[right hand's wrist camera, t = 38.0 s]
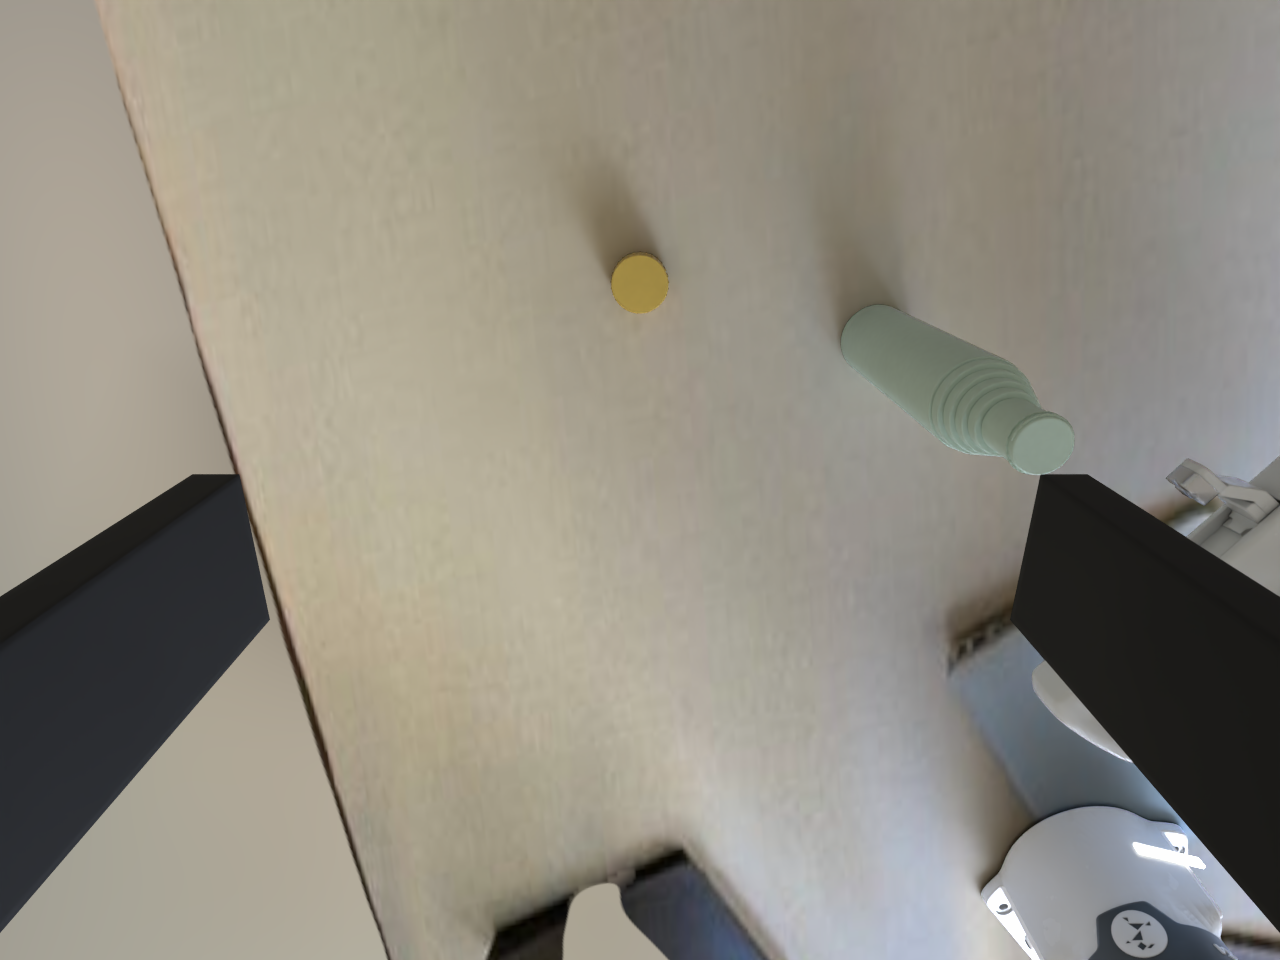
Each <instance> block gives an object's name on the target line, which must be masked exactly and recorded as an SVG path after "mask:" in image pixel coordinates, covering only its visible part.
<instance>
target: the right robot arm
mask: <svg viewBox="0 0 1280 960" xmlns="http://www.w3.org/2000/svg"><path fill="white" fill-rule="evenodd" d="M269 620H270V618H269V614H268V609H267V604H266V599H265V595H264V590H263V585H262V580H261V575H260V571H259V566H258V561H257V556H256V552H255V547H254V542H253V537H252V533H251V528H250V523H249V518H248V513H247V509H246V504H245V499H244V494H243V490H242V485H241V480H240V475H239V474H193V475H191V476H189V477H188V478H186V479H185V480H183V481H181V482H180V483H178V484H177V485H175V486H174V487H172V488H170V489H169V490H167V491H166V492H164V493H163V494H161V495H159V496H158V497H156V498H155V499H153V500H152V501H150V502H148V503H147V504H145V505H144V506H142V507H141V508H139V509H137V510H136V511H134V512H133V513H131V514H130V515H128V516H126V517H125V518H123V519H122V520H120V521H119V522H117V523H115V524H114V525H112V526H111V527H109V528H108V529H106V530H104V531H103V532H101V533H100V534H98V535H96V536H95V537H93V538H92V539H90V540H89V541H87V542H86V543H84V544H82V545H81V546H79V547H78V548H76V549H75V550H73V551H71V552H70V553H68V554H67V555H65V556H63V557H62V558H60V559H59V560H57V561H56V562H54V563H52V564H51V565H49V566H48V567H46V568H45V569H43V570H41V571H40V572H38V573H37V574H35V575H34V576H32V577H30V578H29V579H27V580H26V581H24V582H23V583H21V584H20V585H18V586H16V587H15V588H13V589H12V590H10V591H8V592H7V593H5V594H4V595H2V596H1V597H0V932H1V931H2V930H3V929H4V928H5V927H6V925H7V924H8V923H9V922H10V921H11V920H12V918H13V917H14V916H15V915H16V914H17V913H18V911H19V910H20V909H21V908H22V907H23V906H24V904H25V903H26V902H27V901H28V900H29V899H30V897H31V896H32V895H33V894H34V893H35V892H36V891H37V889H38V888H39V887H40V886H41V885H42V884H43V882H44V881H45V880H46V879H47V878H48V877H49V875H50V874H51V873H52V872H53V871H54V870H55V869H56V867H57V866H58V865H59V864H60V863H61V862H62V860H63V859H64V858H65V857H66V856H67V854H68V853H69V852H70V851H71V850H72V849H73V848H74V846H75V845H76V844H77V843H78V842H79V841H80V839H81V838H82V837H83V836H84V835H85V834H86V833H87V831H88V830H89V829H90V828H91V827H92V826H93V824H94V823H95V822H96V821H97V820H98V819H99V817H100V816H101V815H102V814H103V813H104V812H105V810H106V809H107V808H108V807H109V806H110V805H111V803H112V802H113V801H114V800H115V799H116V798H117V797H118V795H119V794H120V793H121V792H122V791H123V789H124V788H125V787H126V786H127V785H128V784H129V783H130V781H131V780H132V779H133V778H134V777H135V776H136V774H137V773H138V772H139V771H140V770H141V769H142V768H143V766H144V765H145V764H146V763H147V762H148V761H149V759H150V758H151V757H152V756H153V755H154V754H155V752H156V751H157V750H158V749H159V748H160V747H161V745H162V744H163V743H164V742H165V741H166V740H167V738H168V737H169V736H170V735H171V734H172V733H173V731H174V730H175V729H176V728H177V727H178V726H179V724H180V723H181V722H182V721H183V720H184V719H185V718H186V716H187V715H188V714H189V713H190V712H191V711H192V709H193V708H194V707H195V706H196V705H197V704H198V703H199V701H200V700H201V699H202V698H203V697H204V695H205V694H206V693H207V692H208V691H209V690H210V688H211V687H212V686H213V685H214V684H215V683H216V682H217V680H218V679H219V678H220V677H221V676H222V675H223V673H224V672H225V671H226V670H227V669H228V668H229V667H230V665H231V664H232V663H233V662H234V661H235V660H236V658H237V657H238V656H239V655H240V654H241V653H242V651H243V650H244V649H245V648H246V647H247V646H248V644H249V643H250V642H251V641H252V640H253V639H254V637H255V636H256V635H257V634H258V633H259V632H260V630H261V629H262V628H263V627H264V626H265V625H266V624H267V622H268V621H269ZM1010 620H1011V621H1012V622H1013V624H1014V625H1015V626H1016V627H1017V628H1018V629H1019V631H1020V632H1021V633H1022V634H1023V635H1024V636H1025V637H1026V639H1027V640H1028V641H1029V642H1030V643H1031V644H1032V646H1033V647H1034V648H1035V649H1036V650H1037V651H1038V653H1039V654H1040V655H1041V656H1042V657H1043V658H1044V660H1045V661H1046V662H1047V663H1048V664H1049V665H1050V667H1051V668H1052V669H1053V670H1054V671H1055V672H1056V673H1057V675H1058V676H1059V677H1060V678H1061V679H1062V680H1063V682H1064V683H1065V684H1066V685H1067V686H1068V687H1069V689H1070V690H1071V691H1072V692H1073V693H1074V694H1075V696H1076V697H1077V698H1078V699H1079V700H1080V701H1081V703H1082V704H1083V705H1084V706H1085V707H1086V708H1087V709H1088V711H1089V712H1090V713H1091V714H1092V715H1093V716H1094V718H1095V719H1096V720H1097V721H1098V722H1099V723H1100V725H1101V726H1102V727H1103V728H1104V729H1105V730H1106V732H1107V733H1108V734H1109V735H1110V736H1111V737H1112V738H1113V740H1114V741H1115V742H1116V743H1117V744H1118V745H1119V747H1120V748H1121V749H1122V750H1123V751H1124V752H1125V754H1126V755H1127V756H1128V757H1129V758H1130V759H1131V761H1132V762H1133V763H1134V764H1135V765H1136V766H1137V768H1138V769H1139V770H1140V771H1141V772H1142V773H1143V774H1144V776H1145V777H1146V778H1147V779H1148V780H1149V781H1150V783H1151V784H1152V785H1153V786H1154V787H1155V788H1156V790H1157V791H1158V792H1159V793H1160V794H1161V795H1162V797H1163V798H1164V799H1165V800H1166V801H1167V802H1168V803H1169V805H1170V806H1171V807H1172V808H1173V809H1174V810H1175V812H1176V813H1177V814H1178V815H1179V816H1180V817H1181V819H1182V820H1183V821H1184V822H1185V823H1186V824H1187V826H1188V827H1189V828H1190V829H1191V830H1192V831H1193V833H1194V834H1195V835H1196V836H1197V837H1198V838H1199V839H1200V841H1201V842H1202V843H1203V844H1204V845H1205V846H1206V848H1207V849H1208V850H1209V851H1210V852H1211V853H1212V855H1213V856H1214V857H1215V858H1216V859H1217V860H1218V862H1219V863H1220V864H1221V865H1222V866H1223V867H1224V869H1225V870H1226V871H1227V872H1228V873H1229V874H1230V875H1231V877H1232V878H1233V879H1234V880H1235V881H1236V882H1237V884H1238V885H1239V886H1240V887H1241V888H1242V889H1243V891H1244V892H1245V893H1246V894H1247V895H1248V896H1249V898H1250V899H1251V900H1252V901H1253V902H1254V903H1255V904H1256V906H1257V907H1258V908H1259V909H1260V910H1261V911H1262V913H1263V914H1264V915H1265V916H1266V917H1267V918H1268V920H1269V921H1270V922H1271V923H1272V924H1273V925H1274V927H1275V928H1276V929H1277V930H1278V931H1279V932H1280V597H1279V596H1278V595H1276V594H1275V593H1273V592H1272V591H1270V590H1268V589H1267V588H1265V587H1264V586H1262V585H1261V584H1259V583H1257V582H1256V581H1254V580H1253V579H1251V578H1250V577H1248V576H1246V575H1245V574H1243V573H1242V572H1240V571H1239V570H1237V569H1235V568H1234V567H1232V566H1231V565H1229V564H1228V563H1226V562H1224V561H1223V560H1221V559H1220V558H1218V557H1217V556H1215V555H1213V554H1212V553H1210V552H1209V551H1207V550H1206V549H1204V548H1202V547H1201V546H1199V545H1198V544H1196V543H1195V542H1193V541H1191V540H1190V539H1188V538H1187V537H1185V536H1184V535H1182V534H1180V533H1179V532H1177V531H1176V530H1174V529H1173V528H1171V527H1169V526H1168V525H1166V524H1165V523H1163V522H1161V521H1160V520H1158V519H1157V518H1155V517H1154V516H1152V515H1150V514H1149V513H1147V512H1146V511H1144V510H1143V509H1141V508H1139V507H1138V506H1136V505H1135V504H1133V503H1132V502H1130V501H1128V500H1127V499H1125V498H1124V497H1122V496H1121V495H1119V494H1117V493H1116V492H1114V491H1113V490H1111V489H1110V488H1108V487H1106V486H1105V485H1103V484H1102V483H1100V482H1099V481H1097V480H1095V479H1094V478H1092V477H1091V476H1089V475H1088V474H1041V475H1040V480H1039V485H1038V490H1037V494H1036V499H1035V504H1034V509H1033V513H1032V518H1031V523H1030V528H1029V533H1028V537H1027V542H1026V547H1025V552H1024V556H1023V561H1022V566H1021V571H1020V575H1019V580H1018V585H1017V590H1016V595H1015V599H1014V604H1013V609H1012V614H1011V618H1010Z"/></svg>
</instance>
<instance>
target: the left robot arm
mask: <svg viewBox="0 0 1280 960" xmlns="http://www.w3.org/2000/svg"><path fill="white" fill-rule="evenodd" d="M1166 479H1167V480H1168V481H1169V482H1170V483H1172V484H1174V485H1175V488H1177V489H1178V490H1179V491H1180V492H1181V493H1182V494H1184V495H1185V496H1187V497H1189V498H1193V499H1194V500H1195V501H1197V502H1199V503H1201V504H1203V505H1204V506H1205V505H1206V504H1207V503H1208V502H1209V501H1211V500H1212V499H1213V498H1214V497H1215V496H1217V495H1218V497H1219V498H1220V499H1221V500H1222V501H1223V502H1224V503H1225V504H1224V505H1223V506H1221V507H1220V508H1219V509H1218V510H1217V511H1216V512H1214V513H1213V514H1212V515H1211V516H1210V517H1209V518H1208V519H1206V520H1205V521H1204V522H1203V523H1202V524H1201V525H1200V526H1198V527H1197V528H1196V529H1195V530H1194V531H1193V532H1191V533H1190V534H1189V535H1188V536H1187V538H1188V539H1190V540H1191V541H1193V542H1195V543H1196V544H1198V545H1199V546H1201V547H1202V548H1204V549H1206V550H1207V551H1209V552H1210V553H1212V554H1213V555H1215V556H1217V557H1218V558H1220V559H1221V560H1223V561H1224V562H1226V563H1228V564H1229V565H1231V566H1232V567H1234V568H1235V569H1237V570H1239V571H1240V572H1242V573H1243V574H1245V575H1246V576H1248V577H1250V578H1251V579H1253V580H1254V581H1256V582H1257V583H1259V584H1261V585H1262V586H1264V587H1265V588H1267V589H1268V590H1270V591H1272V592H1273V593H1275V594H1276V595H1278V596H1279V597H1280V456H1279V457H1278V458H1277V459H1275V460H1274V461H1273V462H1272V463H1271V464H1270V465H1268V466H1267V467H1266V468H1265V469H1264V470H1263V471H1262V472H1260V473H1259V474H1258V475H1257V476H1256V477H1255V478H1254V479H1252V480H1251V481H1250V482H1249V483H1247V482H1245V481H1243V480H1241V479H1238V478H1235V477H1227V476H1220V475H1215V474H1214V473H1212V472H1211V471H1210V470H1209V469H1208V468H1206V467H1205V466H1203V465H1201V464H1199V463H1197V462H1195V461H1193V460H1190V459H1188V458H1187V459H1186V460H1184V461H1183V462H1182V463H1181V464H1180V465H1179V466H1178V467H1177V468H1176V469H1175V470H1174V471H1173V472H1172V473H1171V474H1170V475H1169V476H1167V477H1166ZM1032 684H1033V689H1034V691H1035V693H1036V694H1037V696H1038V697H1039V698H1040V700H1041V701H1042V702H1043V703H1044V705H1045V706H1046V707H1047V708H1048V709H1049V710H1050V711H1051V713H1052V714H1053V715H1054V716H1055V717H1056V718H1057V719H1058V720H1060V721H1061V722H1062V723H1063V724H1064V725H1066V726H1067V727H1068V728H1070V729H1071V730H1073V731H1074V732H1075V733H1077V734H1078V735H1080V736H1081V737H1083V738H1084V739H1086V740H1087V741H1089V742H1091V743H1092V744H1094V745H1096V746H1097V747H1099V748H1101V749H1102V750H1104V751H1106V752H1108V753H1110V754H1112V755H1114V756H1116V757H1118V758H1120V759H1122V760H1125V761H1128V762H1131V763H1133V762H1132V761H1131V759H1130V758H1129V757H1128V756H1127V755H1126V754H1125V752H1124V751H1123V750H1122V749H1121V748H1120V747H1119V745H1118V744H1117V743H1116V742H1115V741H1114V740H1113V738H1112V737H1111V736H1110V735H1109V734H1108V733H1107V732H1106V730H1105V729H1104V728H1103V727H1102V726H1101V725H1100V723H1099V722H1098V721H1097V720H1096V719H1095V718H1094V716H1093V715H1092V714H1091V713H1090V712H1089V711H1088V709H1087V708H1086V707H1085V706H1084V705H1083V704H1082V703H1081V701H1080V700H1079V699H1078V698H1077V697H1076V696H1075V694H1074V693H1073V692H1072V691H1071V690H1070V689H1069V687H1068V686H1067V685H1066V684H1065V683H1064V682H1063V680H1062V679H1061V678H1060V677H1059V676H1058V675H1057V673H1056V672H1055V671H1054V670H1053V669H1052V668H1051V667H1050V665H1049V664H1048V663H1047V662H1046V661H1045V660H1044V661H1043V662H1042V663H1041V664H1039V665H1038V666H1037V667H1036V668H1035V669H1034V670H1033V672H1032ZM1188 865H1189V866H1193V867H1198V868H1202V869H1204V868H1205V867H1206V866H1205V865H1204V864H1203V862H1202V861H1201V860H1200V859H1199V858H1198V857H1194V856H1190V855H1188V838H1187V836H1186V834H1185V833H1184V831H1183V830H1182V828H1181V827H1180V826H1179V825H1177V824H1173V823H1167V822H1156V821H1149V820H1147V819H1144V818H1142V817H1140V816H1138V815H1136V814H1134V813H1132V812H1130V811H1127V810H1124V809H1120V808H1115V807H1108V806H1088V807H1081V808H1075V809H1071V810H1067V811H1064V812H1061V813H1058V814H1055V815H1053V816H1051V817H1048V818H1046V819H1044V820H1043V821H1041V822H1039V823H1037V824H1036V825H1034V826H1033V827H1031V828H1030V829H1029V830H1028V831H1026V832H1025V833H1024V834H1023V835H1022V836H1021V837H1020V838H1019V839H1018V840H1017V841H1016V842H1015V843H1014V845H1013V846H1012V847H1011V849H1010V850H1009V852H1008V854H1007V856H1006V858H1005V860H1004V863H1003V865H1002V868H1001V870H1000V871H999V873H998V874H997V875H996V876H995V877H994V878H993V879H992V880H991V881H990V882H989V883H988V884H987V885H986V886H985V887H984V889H983V890H982V892H981V896H982V898H983V900H984V902H985V903H986V905H987V906H988V908H989V909H990V910H991V911H992V912H993V914H994V915H995V916H996V917H997V918H998V920H999V921H1000V922H1001V923H1002V924H1003V926H1004V927H1005V928H1006V929H1007V930H1008V932H1009V933H1010V934H1011V935H1012V936H1013V937H1014V939H1015V940H1016V941H1017V942H1018V943H1019V945H1020V946H1021V947H1022V948H1023V949H1024V951H1025V952H1026V953H1027V954H1028V955H1029V957H1030V958H1031V959H1032V960H1238V958H1237V957H1235V955H1234V954H1232V953H1231V952H1230V950H1229V949H1228V948H1227V946H1226V945H1225V944H1224V943H1223V941H1222V940H1221V937H1220V935H1221V932H1222V922H1221V918H1222V917H1223V914H1222V912H1221V910H1220V908H1219V907H1218V905H1217V904H1216V903H1215V901H1214V900H1213V898H1212V897H1211V896H1210V894H1209V893H1208V892H1207V890H1206V889H1205V888H1204V886H1203V885H1202V883H1201V882H1200V881H1199V879H1198V878H1197V877H1196V875H1195V874H1194V873H1193V871H1192V870H1191V869H1190V867H1189V866H1188Z"/></svg>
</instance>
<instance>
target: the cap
mask: <svg viewBox="0 0 1280 960" xmlns="http://www.w3.org/2000/svg"><path fill="white" fill-rule="evenodd" d="M667 277H668V274H667V273H666V269H665V267H663V264H662V262H660V261H659V260H658V258H656V257H654V256H653V255H652V254H651V255H650V254H648V253H647V252H646V253H643V252H641V251H640V252H637V253H635V252H633V253H632V254H628V255H627V256H625V257H623V258H622V260H621V261H620V262H618V264H617V266H615V268H614V272H613V273H612V279H611V289H612V292H613V295H614V297H615V300H616V301H617V302H618V304H619V305H620V306H621V307H623V308H624V309H626V310H627V311H630V312H633V313H647V312H650V311H652V310H654V309H656V308H657V307H658V306H660V304H661V303H662V302H663V301H664V299H665V297H666V295H667V291H668V283H669V281H668V278H667Z"/></svg>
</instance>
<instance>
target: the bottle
mask: <svg viewBox="0 0 1280 960" xmlns="http://www.w3.org/2000/svg"><path fill="white" fill-rule="evenodd" d="M841 350H842V353H843V356H844V358H845V360H846V361H847V363H848V364H849V365H850V366H851V367H852V368H854V369H855V370H856V371H857V372H858V373H860V374H861V375H862V376H863V377H864V378H866V379H867V380H868V381H869V382H870V383H872V384H873V385H874V386H875V387H876V388H877V389H879V390H880V391H881V392H882V393H883V394H885V395H886V396H887V397H888V398H889V399H891V400H892V401H893V402H894V403H895V404H897V405H898V406H899V407H900V408H901V409H903V410H904V411H905V412H906V413H907V414H909V415H910V416H911V417H912V418H913V419H915V420H916V421H917V422H918V423H919V424H921V425H922V426H923V427H924V428H925V429H927V430H928V431H929V432H930V433H931V434H933V435H934V436H935V437H936V438H937V439H939V440H940V441H941V442H942V443H943V444H945V445H946V446H948V447H950V448H952V449H955V450H958V451H960V452H963V453H966V454H972V455H986V456H999V457H1003V458H1005V459H1006V460H1007V461H1008V462H1009V463H1010V464H1011V466H1012V467H1013V468H1015V469H1016V470H1018V471H1019V472H1021V473H1025V474H1028V475H1041V474H1048V473H1050V472H1053V471H1055V470H1057V469H1058V468H1060V467H1061V466H1062V465H1063V464H1064V463H1065V462H1066V461H1067V460H1068V458H1069V457H1070V455H1071V453H1072V451H1073V448H1074V432H1073V429H1072V426H1071V425H1070V423H1069V422H1068V421H1067V420H1066V419H1064V418H1063V417H1061V416H1059V415H1058V414H1055V413H1052V412H1049V411H1045V410H1044V409H1042V408H1041V406H1040V404H1039V401H1038V399H1037V397H1036V395H1035V393H1034V391H1033V389H1032V387H1031V385H1030V382H1029V381H1028V379H1027V378H1026V376H1025V375H1024V374H1023V373H1022V372H1021V371H1019V369H1018V368H1017V367H1016V366H1014V365H1013V364H1012V363H1010V362H1009V361H1007V360H1005V359H1003V358H1001V357H998V356H996V355H994V354H992V353H990V352H988V351H985V350H983V349H981V348H979V347H977V346H975V345H973V344H970V343H968V342H966V341H964V340H962V339H960V338H957V337H955V336H953V335H951V334H949V333H947V332H945V331H942V330H940V329H938V328H936V327H934V326H932V325H929V324H927V323H925V322H923V321H921V320H919V319H917V318H914V317H912V316H910V315H908V314H906V313H904V312H901V311H899V310H897V309H895V308H893V307H890V306H887V305H872V306H869V307H866V308H863V309H862V310H860V311H858V312H857V313H856V314H854V315H853V316H852V317H851V318H850V320H849V321H848V322H847V324H846V326H845V328H844V330H843V333H842V337H841Z"/></svg>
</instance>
